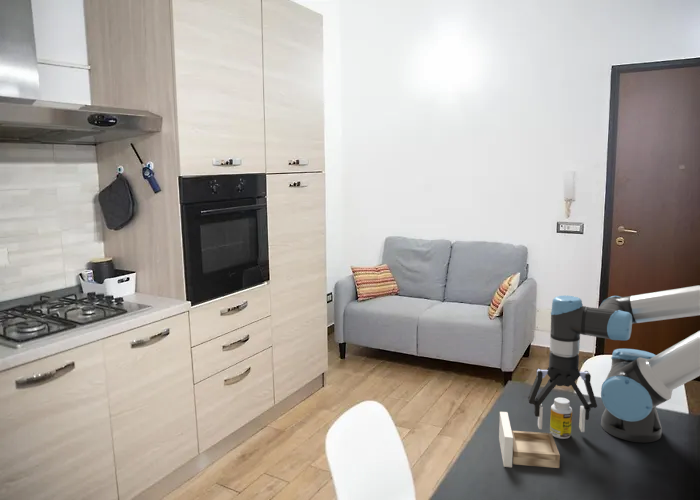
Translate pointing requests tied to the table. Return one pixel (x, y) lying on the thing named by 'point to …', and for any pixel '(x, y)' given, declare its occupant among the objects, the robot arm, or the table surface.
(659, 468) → the table surface
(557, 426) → the supplement bottle
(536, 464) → the beige shadow box
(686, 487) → the table surface
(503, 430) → the backstop
